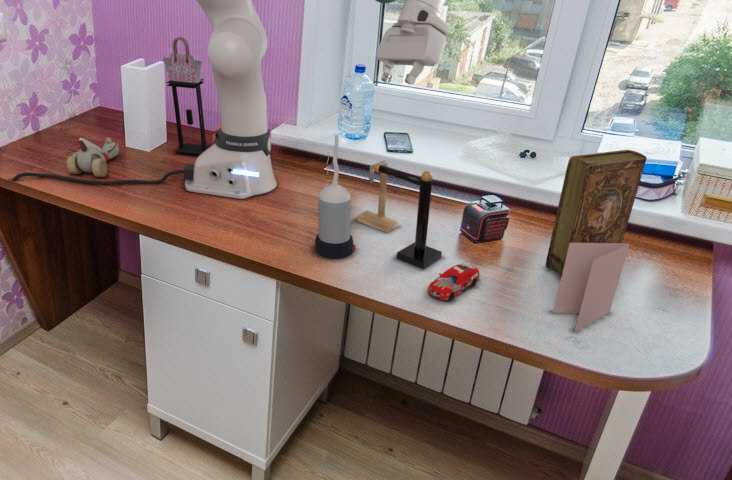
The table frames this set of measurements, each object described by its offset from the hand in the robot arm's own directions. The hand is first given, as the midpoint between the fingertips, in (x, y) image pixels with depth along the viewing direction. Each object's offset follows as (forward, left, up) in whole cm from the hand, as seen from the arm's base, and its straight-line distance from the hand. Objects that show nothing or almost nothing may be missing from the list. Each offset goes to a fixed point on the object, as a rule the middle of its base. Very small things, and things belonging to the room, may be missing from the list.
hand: (396, 82), depth 145 cm
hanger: (-3, -13, -29) cm, 32 cm away
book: (+43, -28, -30) cm, 59 cm away
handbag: (-56, +28, -30) cm, 69 cm away
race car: (+14, -40, -30) cm, 52 cm away
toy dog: (-76, +11, -30) cm, 83 cm away
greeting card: (+39, -49, -30) cm, 69 cm away
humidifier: (-11, -27, -30) cm, 42 cm away
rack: (+3, -25, -29) cm, 39 cm away
